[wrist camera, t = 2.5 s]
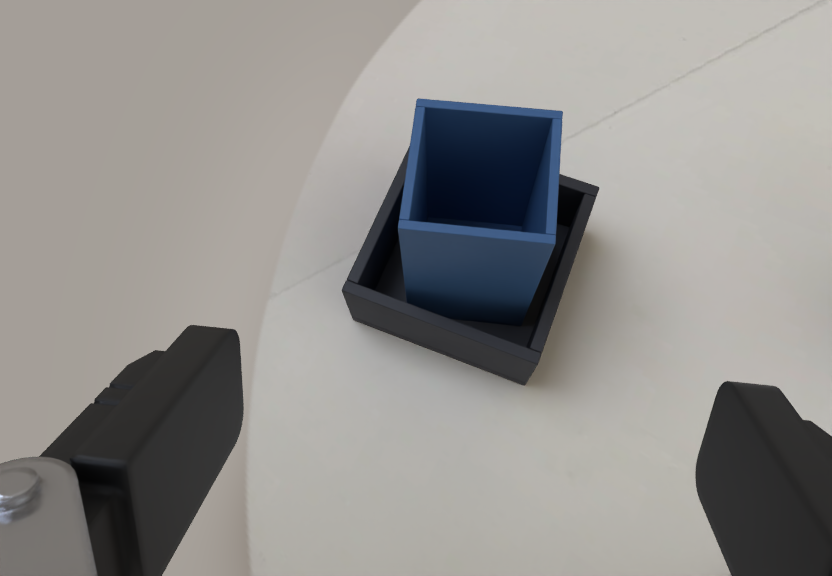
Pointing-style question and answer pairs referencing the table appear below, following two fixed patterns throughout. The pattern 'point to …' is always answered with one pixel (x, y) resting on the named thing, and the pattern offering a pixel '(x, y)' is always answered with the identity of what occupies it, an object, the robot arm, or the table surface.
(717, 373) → the table surface
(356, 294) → the black bin
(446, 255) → the blue bin
